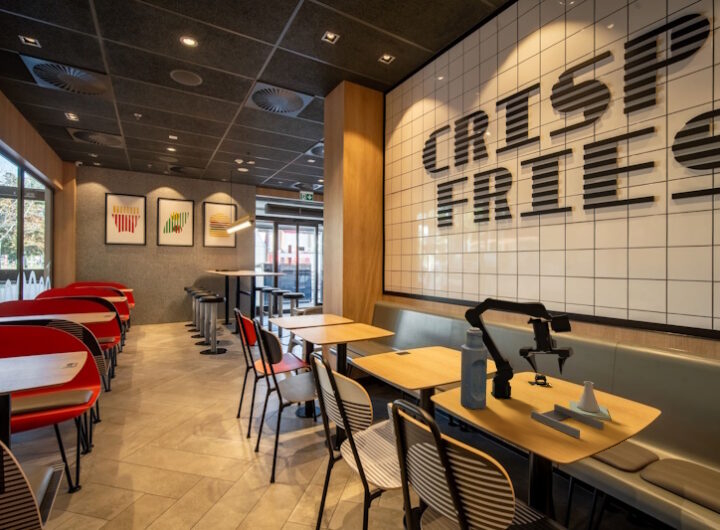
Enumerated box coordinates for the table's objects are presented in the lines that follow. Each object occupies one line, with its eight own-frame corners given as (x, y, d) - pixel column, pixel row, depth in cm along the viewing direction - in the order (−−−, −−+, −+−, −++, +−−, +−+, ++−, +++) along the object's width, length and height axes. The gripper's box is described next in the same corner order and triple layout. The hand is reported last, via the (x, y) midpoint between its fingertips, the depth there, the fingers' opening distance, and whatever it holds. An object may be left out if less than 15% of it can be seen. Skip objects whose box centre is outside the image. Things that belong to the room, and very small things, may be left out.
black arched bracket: (552, 383, 170) (552, 373, 170) (558, 389, 163) (558, 379, 163) (524, 381, 172) (524, 371, 172) (528, 387, 165) (528, 376, 165)
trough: (530, 417, 131) (531, 410, 131) (555, 410, 138) (555, 404, 138) (578, 438, 116) (578, 430, 116) (603, 429, 123) (603, 422, 123)
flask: (604, 411, 136) (604, 384, 136) (591, 414, 133) (592, 386, 133) (585, 403, 143) (585, 378, 142) (572, 406, 140) (573, 380, 139)
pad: (571, 413, 135) (571, 411, 135) (569, 402, 146) (569, 400, 146) (610, 420, 130) (610, 418, 130) (605, 408, 140) (605, 406, 140)
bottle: (478, 399, 148) (479, 325, 148) (491, 409, 138) (492, 330, 138) (456, 401, 146) (457, 326, 146) (467, 411, 137) (468, 331, 136)
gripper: (573, 329, 145) (580, 369, 144) (525, 330, 157) (531, 367, 157) (565, 335, 137) (573, 377, 136) (515, 335, 149) (522, 374, 149)
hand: (548, 373), depth 144 cm, fingers open, 9 cm apart
